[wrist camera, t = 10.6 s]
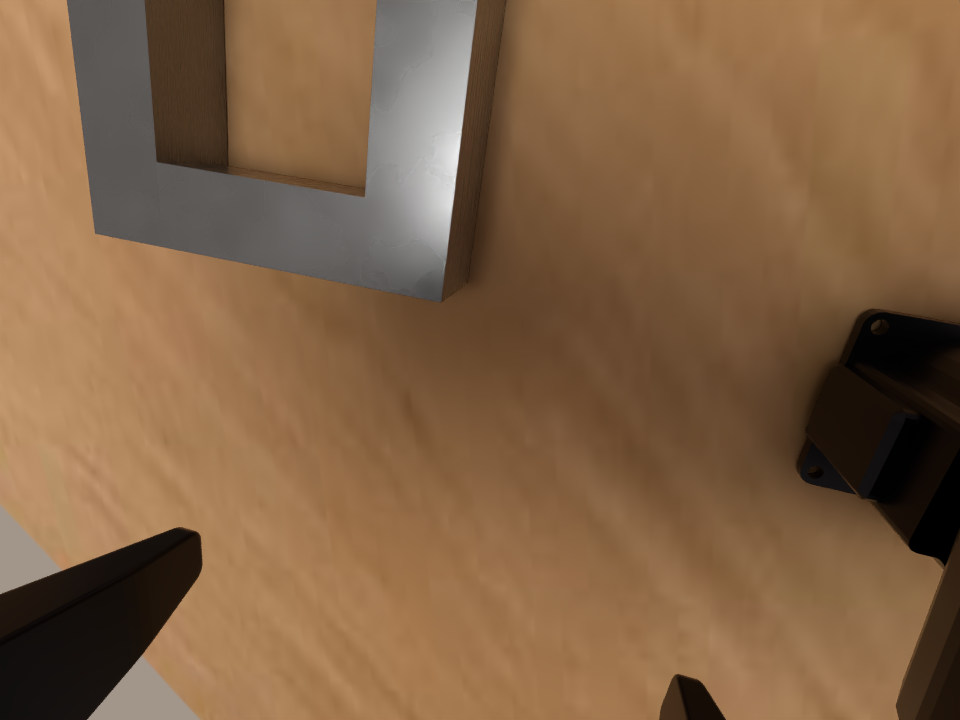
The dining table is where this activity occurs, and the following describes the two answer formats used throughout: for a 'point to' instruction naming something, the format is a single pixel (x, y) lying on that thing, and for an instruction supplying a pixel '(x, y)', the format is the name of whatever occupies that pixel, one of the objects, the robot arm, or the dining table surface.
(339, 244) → the block
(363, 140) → the dining table surface
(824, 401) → the robot arm
